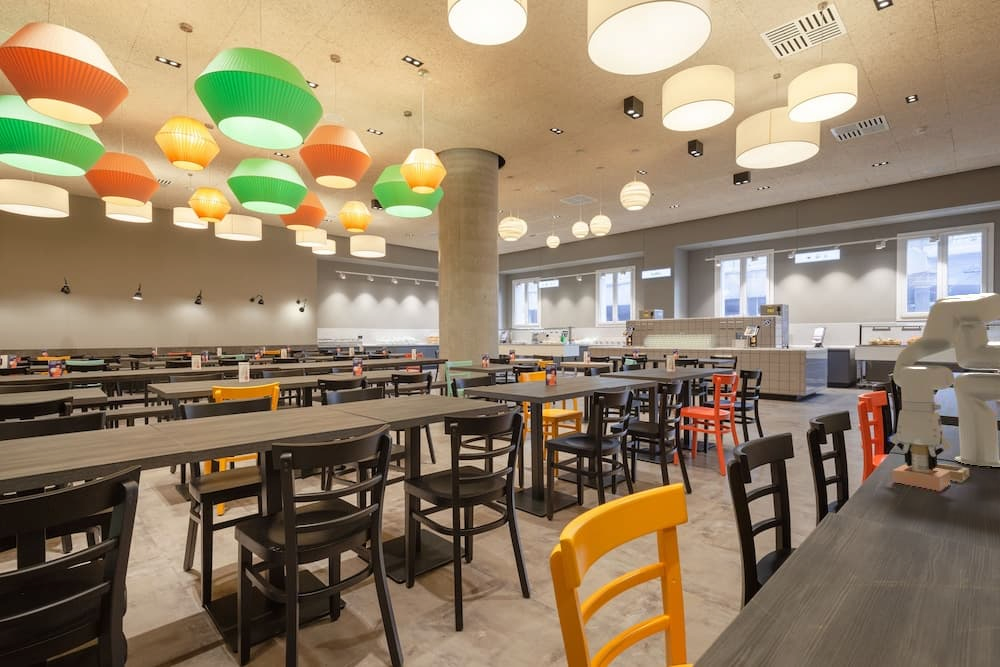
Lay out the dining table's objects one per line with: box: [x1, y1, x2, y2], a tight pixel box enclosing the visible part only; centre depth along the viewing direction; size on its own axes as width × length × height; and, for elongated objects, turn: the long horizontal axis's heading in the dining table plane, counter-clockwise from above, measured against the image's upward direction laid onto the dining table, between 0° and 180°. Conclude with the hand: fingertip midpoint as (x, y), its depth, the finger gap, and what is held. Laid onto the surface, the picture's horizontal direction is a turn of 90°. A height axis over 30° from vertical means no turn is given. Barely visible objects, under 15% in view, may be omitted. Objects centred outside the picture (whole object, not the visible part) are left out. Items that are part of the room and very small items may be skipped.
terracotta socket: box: [892, 463, 951, 492], centre depth 144 cm, size 11×11×4 cm
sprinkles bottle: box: [911, 439, 931, 475], centre depth 145 cm, size 5×5×14 cm
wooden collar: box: [935, 462, 971, 483], centre depth 151 cm, size 9×9×3 cm
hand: (921, 466), depth 145 cm, fingers open, 4 cm apart
